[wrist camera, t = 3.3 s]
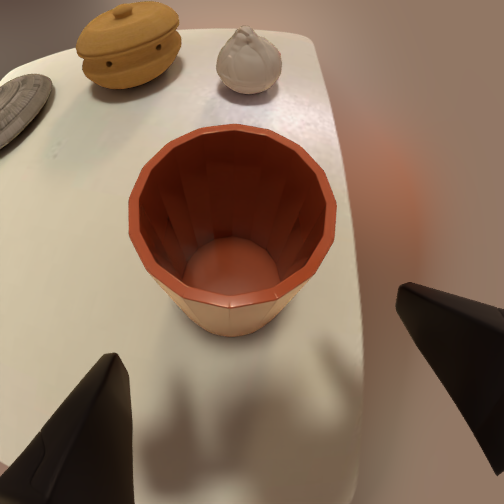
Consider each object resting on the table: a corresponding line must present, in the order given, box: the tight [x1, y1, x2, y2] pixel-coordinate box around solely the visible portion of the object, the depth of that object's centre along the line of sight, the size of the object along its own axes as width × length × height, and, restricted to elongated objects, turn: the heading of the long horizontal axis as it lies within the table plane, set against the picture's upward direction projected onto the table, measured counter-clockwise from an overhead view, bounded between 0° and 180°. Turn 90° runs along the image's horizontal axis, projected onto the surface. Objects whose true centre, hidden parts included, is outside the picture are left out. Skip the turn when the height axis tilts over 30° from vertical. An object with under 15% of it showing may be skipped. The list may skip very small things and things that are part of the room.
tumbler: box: [129, 124, 337, 337], centre depth 15 cm, size 7×7×11 cm
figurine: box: [216, 26, 282, 94], centre depth 24 cm, size 6×7×8 cm
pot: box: [76, 1, 181, 89], centre depth 24 cm, size 12×12×10 cm
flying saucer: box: [0, 74, 52, 149], centre depth 23 cm, size 15×15×6 cm
